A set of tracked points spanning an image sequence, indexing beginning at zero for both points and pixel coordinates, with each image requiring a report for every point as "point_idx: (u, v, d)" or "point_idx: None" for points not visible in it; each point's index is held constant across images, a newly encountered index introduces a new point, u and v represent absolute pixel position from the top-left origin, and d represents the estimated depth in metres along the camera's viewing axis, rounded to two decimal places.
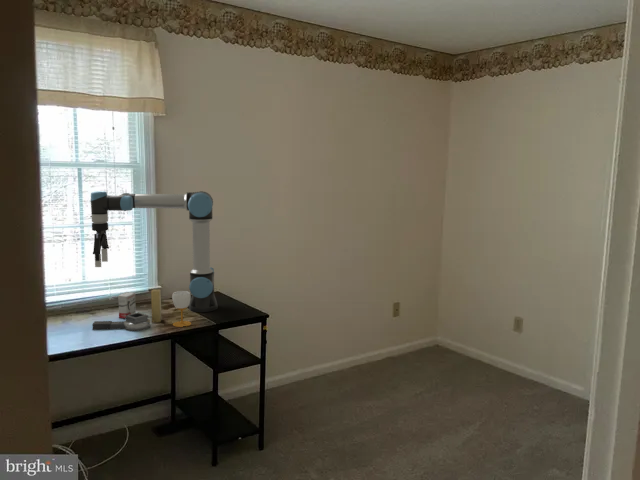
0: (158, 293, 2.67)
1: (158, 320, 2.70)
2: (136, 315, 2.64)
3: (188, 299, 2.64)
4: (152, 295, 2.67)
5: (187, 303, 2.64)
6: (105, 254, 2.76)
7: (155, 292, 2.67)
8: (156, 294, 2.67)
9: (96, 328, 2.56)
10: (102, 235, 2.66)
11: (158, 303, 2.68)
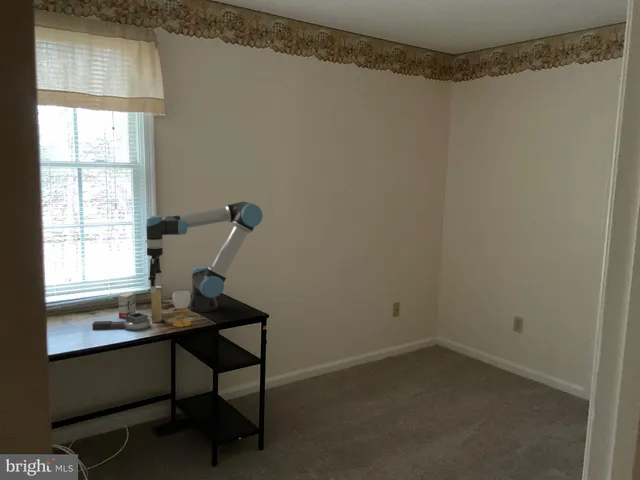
0: (158, 293, 2.67)
1: (158, 320, 2.70)
2: (136, 315, 2.64)
3: (188, 299, 2.64)
4: (152, 295, 2.67)
5: (187, 303, 2.64)
6: (158, 278, 2.75)
7: None
8: (156, 294, 2.67)
9: (96, 328, 2.56)
10: (157, 260, 2.65)
11: (158, 303, 2.68)
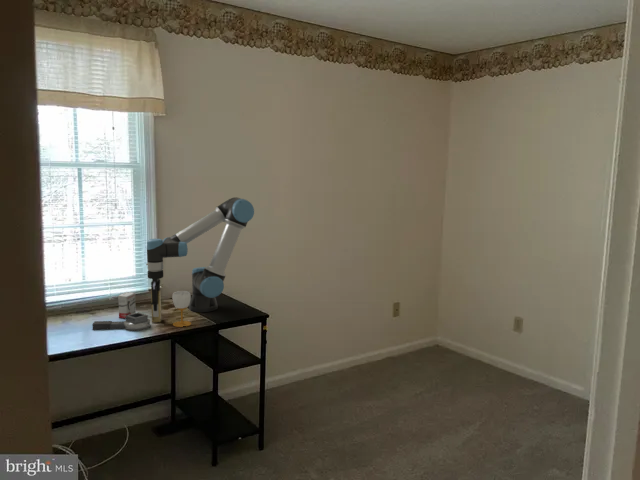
0: (158, 293, 2.67)
1: (158, 320, 2.70)
2: (136, 315, 2.64)
3: (188, 299, 2.64)
4: None
5: (187, 303, 2.64)
6: None
7: None
8: None
9: (96, 328, 2.56)
10: (158, 283, 2.67)
11: (158, 303, 2.68)
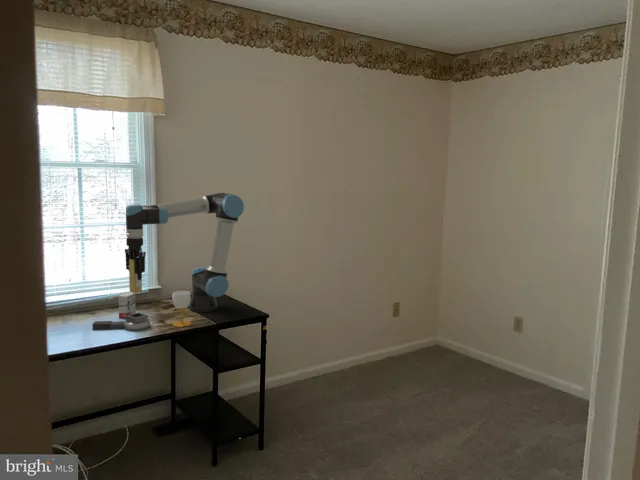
0: None
1: (140, 290, 2.58)
2: (136, 315, 2.64)
3: (188, 299, 2.64)
4: (135, 264, 2.54)
5: (187, 303, 2.64)
6: None
7: None
8: None
9: (96, 328, 2.56)
10: None
11: None
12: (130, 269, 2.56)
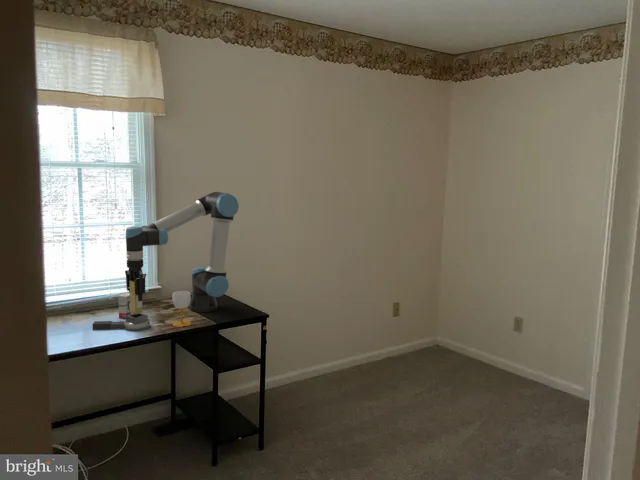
0: None
1: (141, 311, 2.60)
2: (136, 315, 2.64)
3: (188, 299, 2.64)
4: (135, 285, 2.56)
5: (187, 303, 2.64)
6: None
7: None
8: None
9: (96, 328, 2.56)
10: None
11: None
12: (131, 290, 2.57)
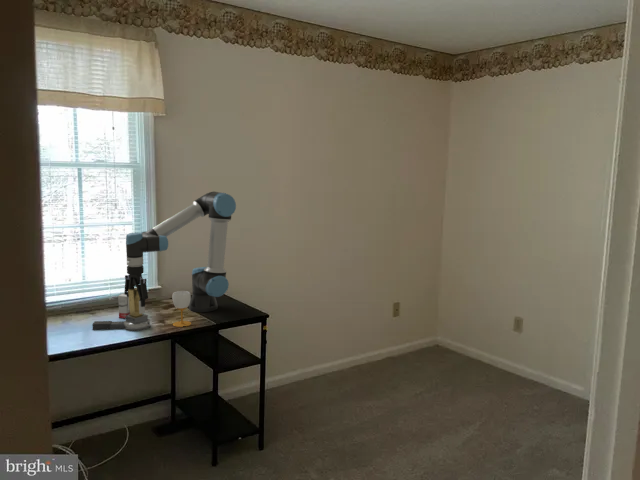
0: None
1: None
2: None
3: (188, 299, 2.64)
4: (134, 294, 2.56)
5: (187, 303, 2.64)
6: None
7: None
8: None
9: (96, 328, 2.56)
10: None
11: None
12: (130, 299, 2.58)
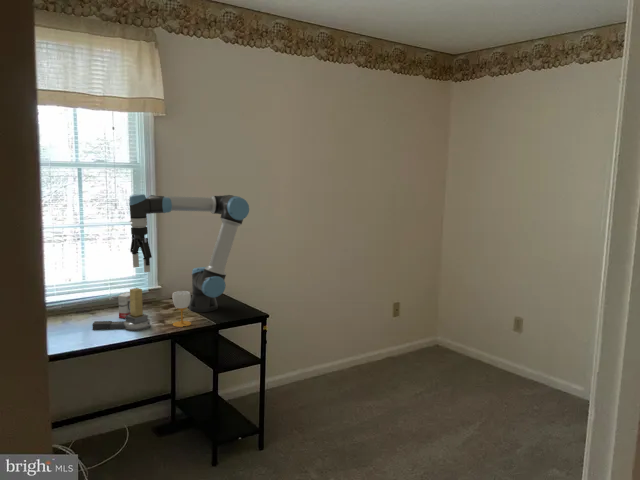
0: (141, 291, 2.59)
1: None
2: None
3: (188, 299, 2.64)
4: (136, 294, 2.57)
5: (187, 303, 2.64)
6: (137, 259, 2.67)
7: (138, 291, 2.57)
8: (139, 293, 2.58)
9: (96, 328, 2.56)
10: None
11: (141, 302, 2.59)
12: (131, 299, 2.58)
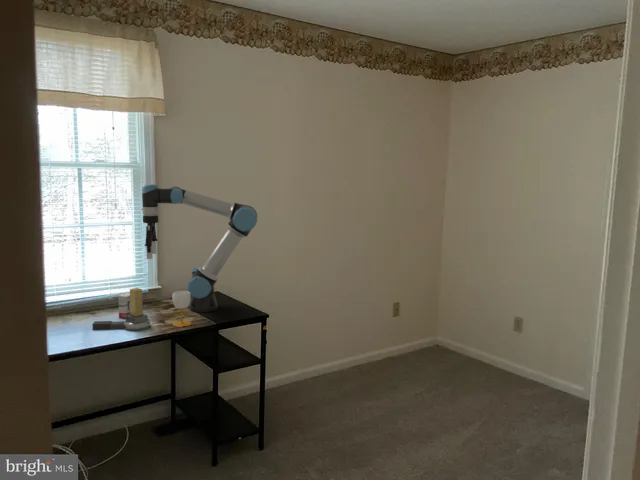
0: (141, 291, 2.59)
1: None
2: None
3: (188, 299, 2.64)
4: (136, 294, 2.57)
5: (187, 303, 2.64)
6: (154, 246, 2.81)
7: (138, 291, 2.57)
8: (139, 293, 2.58)
9: (96, 328, 2.56)
10: (153, 227, 2.71)
11: (141, 302, 2.59)
12: (131, 299, 2.58)
